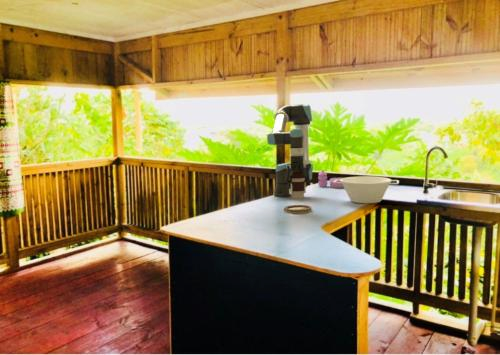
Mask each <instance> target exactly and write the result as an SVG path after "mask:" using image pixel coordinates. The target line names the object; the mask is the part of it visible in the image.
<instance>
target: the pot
mask: <svg viewBox="0 0 500 355" xmlns="http://www.w3.org/2000/svg"><path fill="white" fill-rule="evenodd" d="M342 178H343V179H336V180H335V181H333V183H342V184H343V186H344V188H343V189H344V190H345V192H346V194H347V196H348V198H349V200H350V201H351V202H353V203H355V204H362V203H363V204H365V205H366V204H367V205H369V204H378V203H381V201H382V200H383V198H384V196H385V194H386V192H387V189H388V188H389V186H390V185H399V184H400V180H398V179H391V178H388V177H384V176H370V175H369V176H366V175H365V176H364V175H363V176H348V177H342ZM337 180H340V181H341V182H336V181H337Z"/></svg>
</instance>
